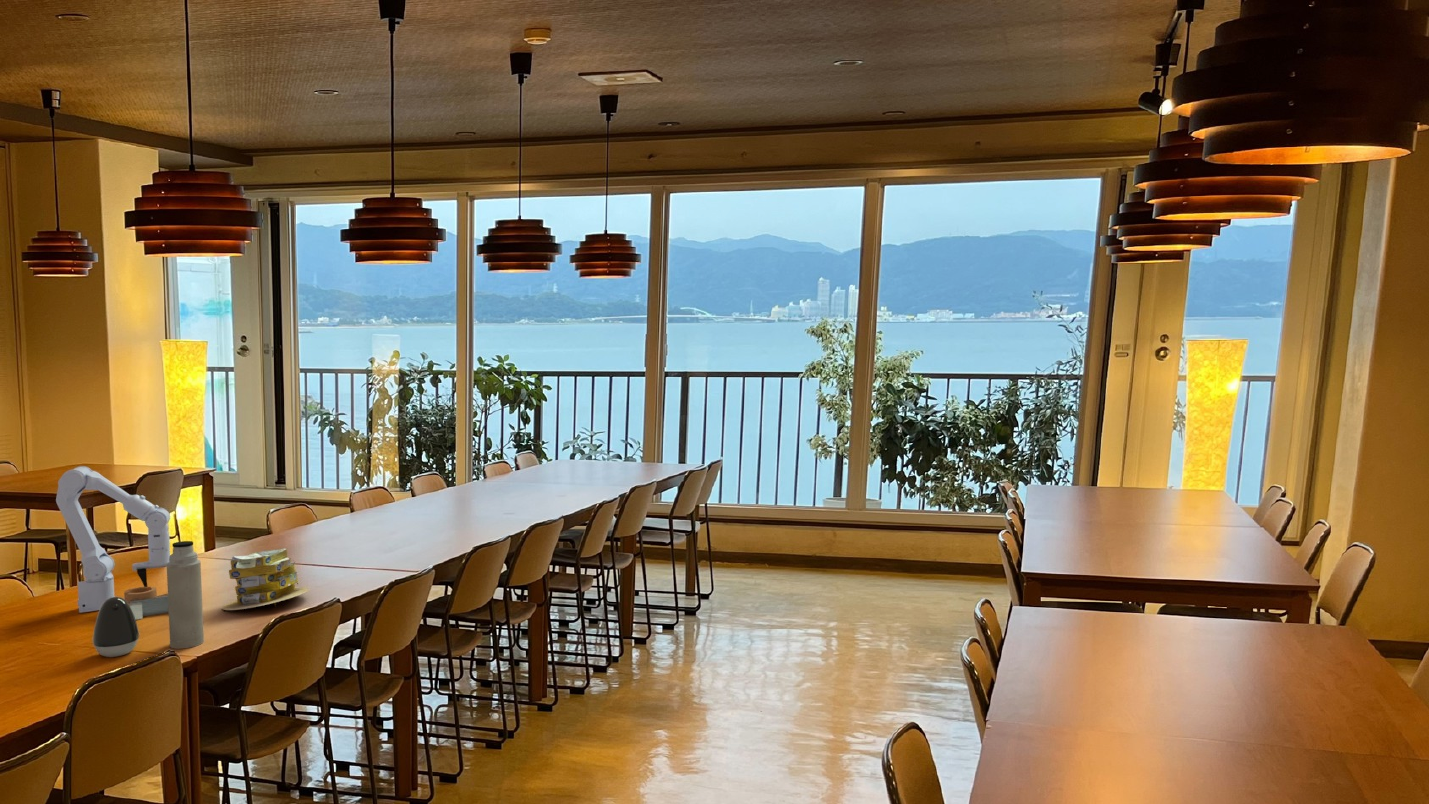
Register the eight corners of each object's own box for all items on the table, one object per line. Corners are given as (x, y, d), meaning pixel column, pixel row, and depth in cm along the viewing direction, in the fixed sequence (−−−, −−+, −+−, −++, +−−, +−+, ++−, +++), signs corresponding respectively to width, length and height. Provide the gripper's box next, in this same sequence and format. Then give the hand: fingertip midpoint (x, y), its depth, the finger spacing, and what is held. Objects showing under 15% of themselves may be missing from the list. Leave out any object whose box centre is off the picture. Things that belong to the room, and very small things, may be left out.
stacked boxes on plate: (203, 611, 281) (201, 557, 280) (264, 590, 304) (263, 540, 303) (269, 618, 274) (267, 563, 272) (327, 596, 297) (325, 545, 296)
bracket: (135, 618, 275) (134, 595, 275) (119, 614, 279) (118, 591, 278) (193, 602, 291) (192, 581, 290) (177, 599, 295) (176, 578, 294)
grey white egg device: (94, 663, 235) (91, 605, 234) (92, 652, 244) (89, 596, 243) (141, 655, 241) (138, 598, 240) (138, 644, 250) (135, 589, 249)
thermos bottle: (180, 639, 254) (175, 539, 252) (209, 638, 254) (205, 538, 253) (163, 648, 246) (159, 545, 244) (194, 648, 246) (189, 545, 245)
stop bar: (130, 620, 272) (129, 603, 271) (130, 616, 275) (129, 600, 275) (196, 611, 281) (195, 594, 281) (195, 607, 285) (194, 591, 284)
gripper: (185, 542, 297) (186, 584, 298) (131, 548, 289) (133, 590, 290) (186, 546, 291) (187, 588, 292) (132, 552, 283) (133, 595, 284)
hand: (160, 590), depth 291 cm, fingers open, 7 cm apart
